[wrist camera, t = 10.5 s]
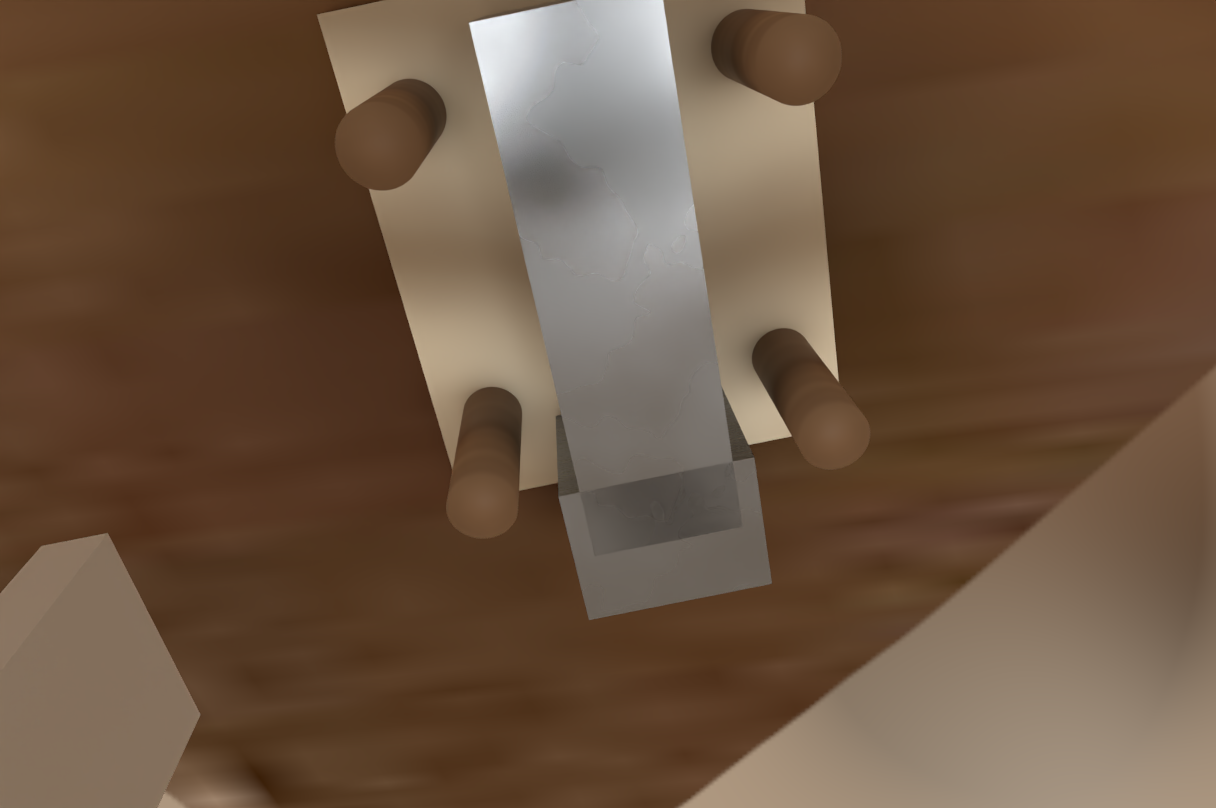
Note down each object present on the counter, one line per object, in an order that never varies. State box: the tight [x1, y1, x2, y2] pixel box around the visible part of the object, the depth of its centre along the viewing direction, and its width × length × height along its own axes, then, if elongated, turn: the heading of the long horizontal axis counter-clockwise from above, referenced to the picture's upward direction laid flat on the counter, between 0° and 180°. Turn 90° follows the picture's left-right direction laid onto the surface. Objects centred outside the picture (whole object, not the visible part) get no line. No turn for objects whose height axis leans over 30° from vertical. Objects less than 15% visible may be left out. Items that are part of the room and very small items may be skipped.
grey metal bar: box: [469, 0, 772, 620], centre depth 22 cm, size 14×5×4 cm, turn 11°
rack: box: [317, 0, 870, 539], centre depth 21 cm, size 13×11×6 cm
